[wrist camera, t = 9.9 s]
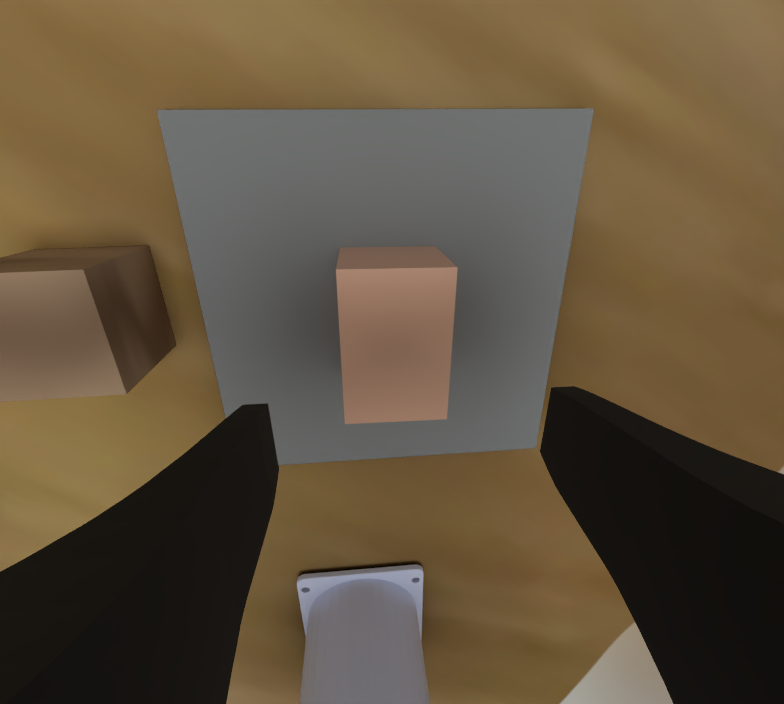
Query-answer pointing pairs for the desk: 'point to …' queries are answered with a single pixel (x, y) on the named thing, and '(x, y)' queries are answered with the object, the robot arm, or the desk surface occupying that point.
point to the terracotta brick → (395, 332)
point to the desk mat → (378, 229)
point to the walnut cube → (80, 322)
